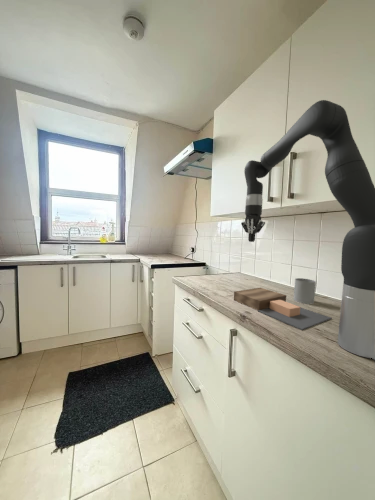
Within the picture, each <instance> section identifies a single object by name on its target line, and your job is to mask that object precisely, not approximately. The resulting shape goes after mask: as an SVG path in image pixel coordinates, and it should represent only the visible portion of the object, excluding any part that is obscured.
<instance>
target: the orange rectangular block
mask: <svg viewBox="0 0 375 500" xmlns="http://www.w3.org/2000/svg"><path fill="white" fill-rule="evenodd" d="M300 307H301V306H299V305H295V304H293V303H290V302H288V301H286V302H285V301H282V300H275V301H270V309H272V310H274V311H277V312H279V313H281V314H283V315H286V316H288V317H292V316H296V315H300Z"/></svg>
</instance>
